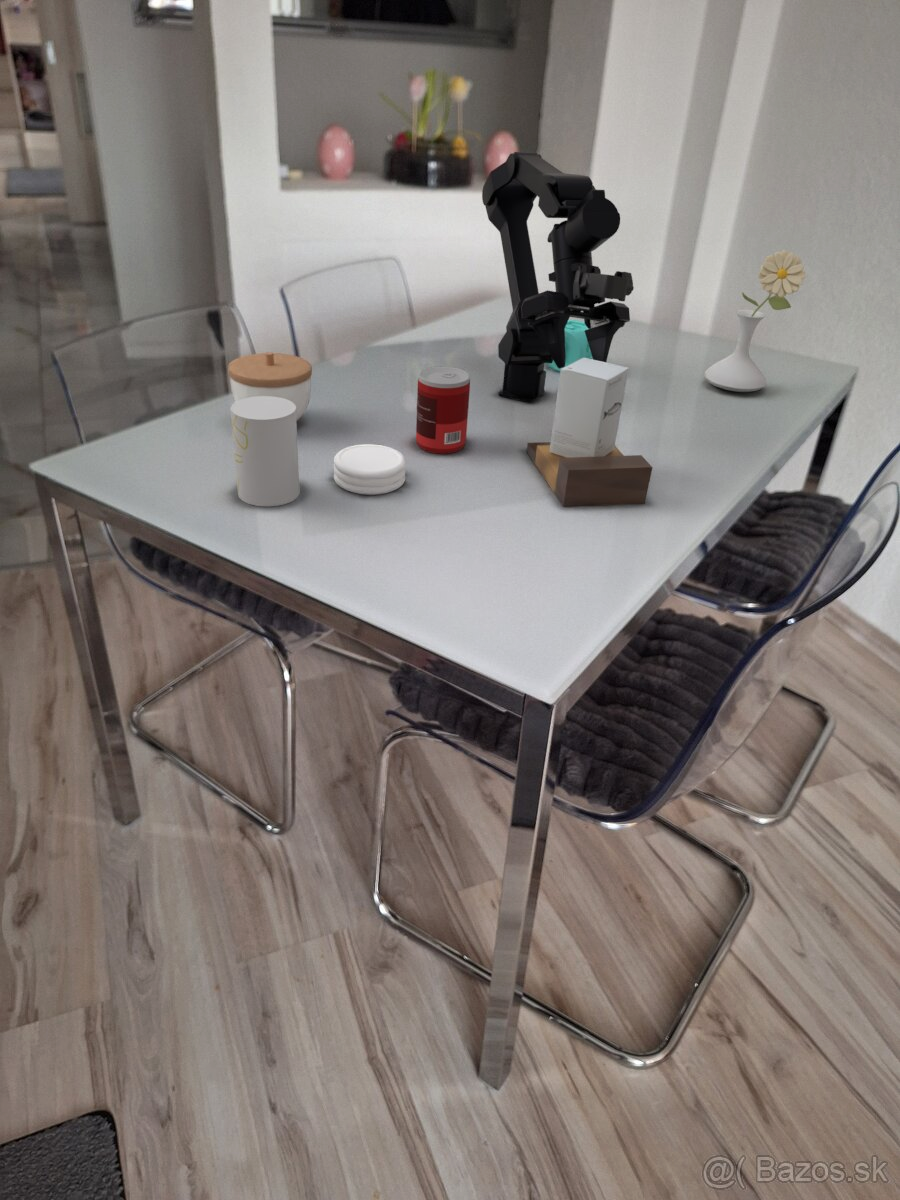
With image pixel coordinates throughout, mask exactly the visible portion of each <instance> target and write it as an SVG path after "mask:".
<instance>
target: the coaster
mask: <svg viewBox="0 0 900 1200" xmlns="http://www.w3.org/2000/svg"><path fill="white" fill-rule="evenodd" d="M406 464H407V460H406V458H405V456H404V454H403V453H401V452H400V451H399V450H397V449H396V448H393V447H390V446H387V445H380V444H374V443H364V444H363V443H362V444H355V445H350V446H347V447H345V448H342V449H340V450H339V451H338V452H337V453H336V454H335V456H334V457H333V472H334V473H333V479H334V481H335V484H336V485H337V486H339V487H340V488H342V489H343V490H345V491H347V492H350V493H354V494H358V495H365V496H367V495H368V496H373V495H384V494H388V493H391V492H393V491H396V490H398V489H399V488H400V487H402V486H403V485H404V484H405V481H406V470H407V469H406Z"/></svg>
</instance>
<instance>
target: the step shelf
mask: <svg viewBox="0 0 900 1200" xmlns="http://www.w3.org/2000/svg"><path fill="white" fill-rule="evenodd" d="M550 445H551V441H543V442H542V441H539V442H537V441H536V442H527V445H526V453H527V454H528V456H529V457H530V459H531V461H532V462H533V464H534V465H535V466H536V468H537V469H538V471H539V472H540V474H541V476H542V477H543V478H544V480H545V481H546V483H547V484H548V486H549V488H550V489H551V490H552V492H553V493H554V496H556V498H557V499H558V501H559V503H560V504H561V506H562V507H563V508H570V507H571V508H572V507H589V506H591V507H592V506H594V507H595V506H613V505H615V506H616V505H637V504H646V501H647V497H648V492H649V486H650V483H651V482H650V481H651V477H652V471H653V466H652V465H651V464H650V462H649V461H647V460H646V458H645V457H644V456H643V455H642V454H637V455H636V454H635V455H633V454H632V455H631V454H630V455H624V454H623V453H622V452H621V451H620V449H619V448H618V447H617V446H616V445H615V447H614V450H613V451H612V452H610V453H609V454H607V455H606V456H600V457H569V458H566V457H563V456H560V455H557V454H553V453H551V452H549V451H550Z"/></svg>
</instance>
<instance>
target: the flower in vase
mask: <svg viewBox="0 0 900 1200" xmlns="http://www.w3.org/2000/svg"><path fill="white" fill-rule="evenodd" d="M802 262H803V261H802V258H800V256H799V255H796V256H795V253H794V252H792V251H791V252H788V251H787V250H786V249H783V250H781V251H776V252H774V255H773V254H770V255H767V256H766V258H765V259H764V261H763V264H762V265H761V266H760V270H759V273H758V275H757V277H758V278H759V279H760V280H759V283H760V284H761V289H762V290H763V291H765V292H768V294H769V295H768V296H767V297H766V298H765V299H764V300H763V301H762V302H761V303H760V304H759V303H758V302H757V301H756V300H755V299H753V298H751V297H748V295H746V294H745V292H743V291H742V292H741V295H742V297H743V299H744V300H746V301H747V302H749V303H751V304H753V305H754V306H755V307H756V308H755V310H752V309H739V310H736V314H737V316H738V319H739V333H738V339H737V343H736V345H735V348H734V350H733V352H732V353H730V354H729V355H728V356H726V357H725V358H722V359H721V360H719V361H717V362H715V363H713V364H712V365H711V366H709V367H707V369H706V370H705V372H704V378H705V380H706V381H707V382H708V383H709V384H711V385H712V386H714V387H717V388H719V389H722V390H726V391H730V392H735V393H736V392H737V393H738V392H739V393H751V392H756V391H759V390H762V389H763V388H764V387H765V386H766V385H767V378H766V376H765V374H764V373H763V371H762V370H761V368H760V367H758V366H757V364H756V363H755V362H754V361H753V359H752V358H751V356H750V346H751V341H752V338H753V335H754V333H755V330H756V328H757V326H758V325H759V323H760V322H761V321H762V320H764V318H765V317H766V314H765V313H764V312H761V311H759V310H760V309H761V307H762V306H764V305H765V304H766V302H768V304H769V305H770V307H771V308H772V309H773V310H775V311H781V310H787V309H791V308H792V305H791V303H790V302H789V301H788V299H787V298H786V295H792V294H794V293H797V292H798V291H799V289H800V286H801V285H802V284H803V283H804V280H805V278H806V271H805V270H804V265H803V264H802ZM772 295H773V296H772Z"/></svg>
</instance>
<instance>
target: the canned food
mask: <svg viewBox="0 0 900 1200" xmlns="http://www.w3.org/2000/svg"><path fill="white" fill-rule="evenodd" d="M416 389H417V390H416V391H417V393H416V395H417V396H416V397H417V398H416V421H415V422H416V425H415V441H416V444H417V446H418V448H420V449H421V450H423V451H424V452H428V453H432V454H441V455H442V454H453V453H456V452H458V451H461V450H462V449H463V448H464V447H465V444H466V441H467V431H468V430H467V429H468V419H469V404H470V391H471V374H469V372H467V371H465V370H463V369H461V368H457V367H452V366H432V367H427V368H425V369H421V370H420V371H419V373H418V375H417V388H416Z"/></svg>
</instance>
